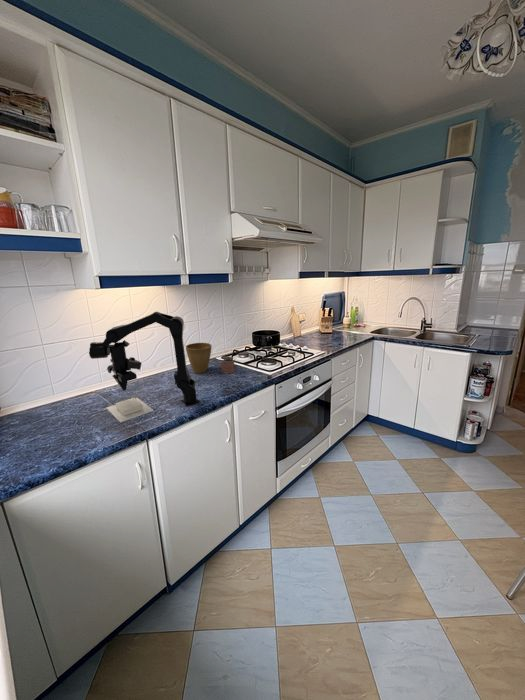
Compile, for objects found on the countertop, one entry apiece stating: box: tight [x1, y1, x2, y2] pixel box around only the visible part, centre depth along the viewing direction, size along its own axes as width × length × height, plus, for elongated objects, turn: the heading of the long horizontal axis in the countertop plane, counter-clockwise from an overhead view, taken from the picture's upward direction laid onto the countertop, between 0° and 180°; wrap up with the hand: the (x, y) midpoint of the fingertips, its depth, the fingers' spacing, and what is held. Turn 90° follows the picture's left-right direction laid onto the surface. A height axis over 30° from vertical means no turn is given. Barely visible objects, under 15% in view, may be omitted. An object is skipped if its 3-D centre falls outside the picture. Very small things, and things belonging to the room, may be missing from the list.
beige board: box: [106, 397, 154, 423], centre depth 128 cm, size 18×14×1 cm
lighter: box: [220, 355, 236, 375], centre depth 170 cm, size 8×3×10 cm, turn 84°
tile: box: [114, 397, 143, 416], centre depth 127 cm, size 2×8×10 cm
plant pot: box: [185, 342, 212, 374], centre depth 172 cm, size 15×15×16 cm
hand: (124, 390), depth 128 cm, fingers closed
